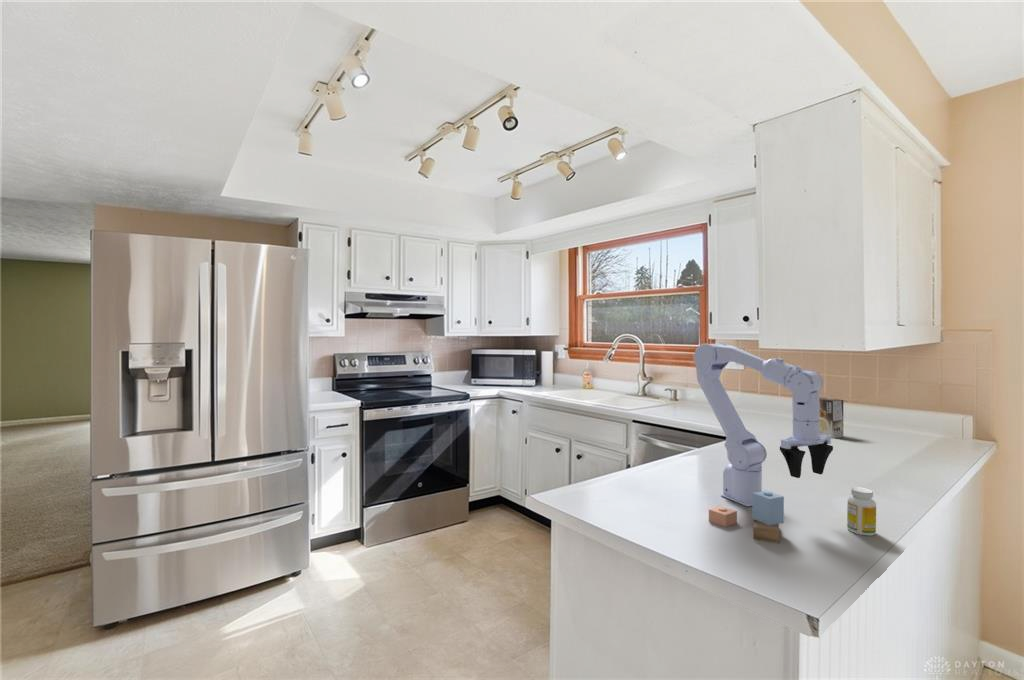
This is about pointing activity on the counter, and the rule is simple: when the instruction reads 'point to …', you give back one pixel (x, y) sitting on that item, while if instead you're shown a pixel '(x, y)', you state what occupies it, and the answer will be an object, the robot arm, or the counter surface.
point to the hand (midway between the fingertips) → (806, 475)
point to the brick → (722, 516)
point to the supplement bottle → (861, 512)
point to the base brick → (765, 532)
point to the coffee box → (831, 417)
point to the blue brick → (768, 507)
